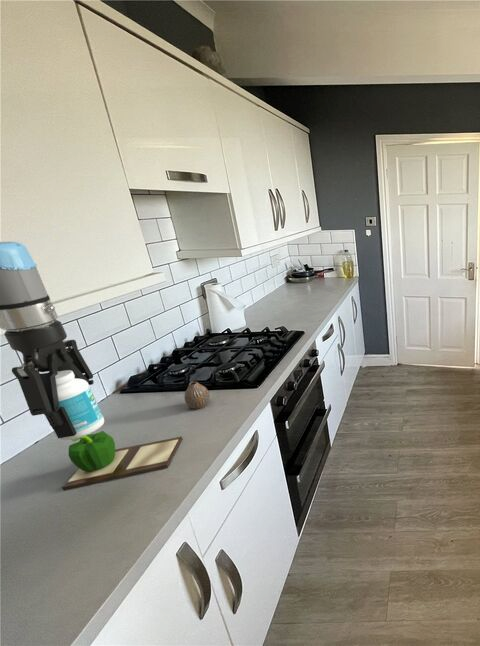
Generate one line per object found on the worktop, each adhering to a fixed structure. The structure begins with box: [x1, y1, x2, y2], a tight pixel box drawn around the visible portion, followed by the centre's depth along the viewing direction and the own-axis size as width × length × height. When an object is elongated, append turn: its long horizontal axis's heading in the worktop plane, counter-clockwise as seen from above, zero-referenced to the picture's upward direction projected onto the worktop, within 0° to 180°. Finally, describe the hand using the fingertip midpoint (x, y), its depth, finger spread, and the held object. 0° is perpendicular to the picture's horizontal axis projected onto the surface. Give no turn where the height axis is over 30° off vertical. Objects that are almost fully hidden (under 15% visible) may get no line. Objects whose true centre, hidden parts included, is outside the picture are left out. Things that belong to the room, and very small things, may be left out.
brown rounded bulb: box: [183, 381, 210, 410], centre depth 116 cm, size 7×7×9 cm
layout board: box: [61, 436, 184, 491], centre depth 93 cm, size 22×12×1 cm, turn 108°
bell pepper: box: [68, 430, 116, 472], centre depth 89 cm, size 8×8×10 cm
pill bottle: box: [50, 370, 105, 441], centre depth 73 cm, size 8×7×14 cm
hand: (79, 423), depth 74 cm, fingers closed on pill bottle, 7 cm apart
